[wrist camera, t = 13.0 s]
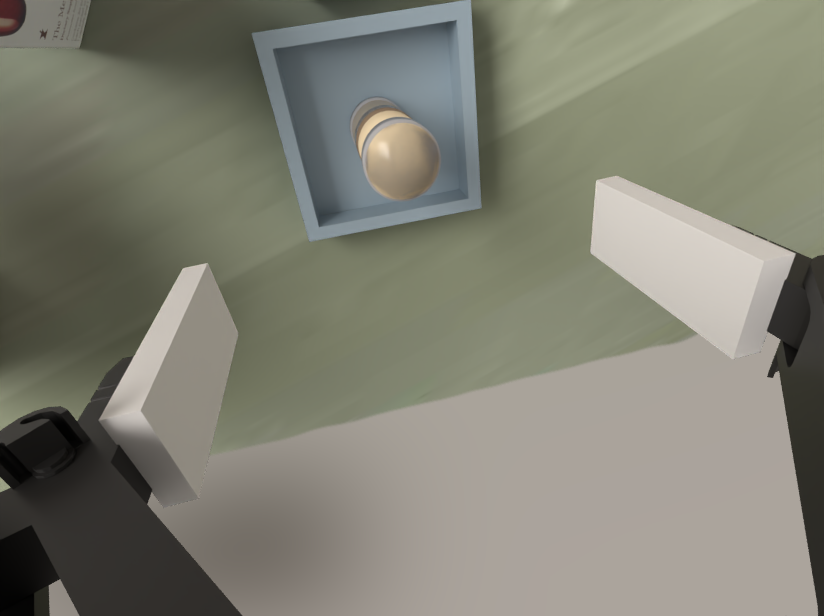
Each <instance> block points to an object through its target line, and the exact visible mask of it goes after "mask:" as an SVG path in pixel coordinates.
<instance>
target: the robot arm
mask: <svg viewBox="0 0 824 616" xmlns="http://www.w3.org/2000/svg"><path fill="white" fill-rule="evenodd" d="M590 253H591V254H593V255H594V256H595V257H597V258H598V259H599V260H601V261H602V262H603V263H605V264H606V265H607V266H609V267H610V268H611V269H613V270H614V271H615V272H617V273H618V274H619V275H621V276H622V277H623V278H625V279H626V280H627V281H629V282H630V283H631V284H633V285H634V286H635V287H637V288H638V289H639V290H641V291H642V292H643V293H645V294H646V295H647V296H649V297H650V298H651V299H653V300H654V301H655V302H657V303H658V304H659V305H661V306H662V307H663V308H665V309H666V310H667V311H669V312H670V313H671V314H673V315H674V316H675V317H677V318H678V319H679V320H681V321H682V322H683V323H685V324H686V325H687V326H689V327H690V328H691V329H693V330H694V331H695V332H697V333H698V334H699V335H701V336H702V337H704V338H705V339H706V340H707V341H709V342H710V343H711V344H713V345H714V346H715V347H717V348H718V349H719V350H721V351H722V352H723V353H725V354H726V355H728V356H729V357H730V358H732V359H736V358H741V357H744V356H748V355H752V354H756V353H760V352H761V349H762V347H763V343H764V341H765V338H766V335H767V333H768V332H769V333H771V334H773V335H774V336H776V337H777V338H779V339H781V341H780V343H779V346H778V349H777V351H776V354H775V356H774V359H773V362H772V365H771V367H770V370H769V373H768V376H767V377H771V378H773V376H774V374H775V372H777V371H779V373H780V379H781V385H782V391H783V397H784V403H785V410H786V416H787V422H788V428H789V434H790V440H791V446H792V452H793V458H794V464H795V470H796V476H797V482H798V489H799V495H800V501H801V506H802V513H803V519H804V525H805V531H806V537H807V543H808V549H809V555H810V562H811V568H812V574H813V579H814V586H815V592H816V598H817V605H818V616H824V255H821V256H817V257H815V258H813V259H811V258H809V257H806V256H804V255H802V254H799V253H797V252H795V251H793V250H790V249H788V248H786V247H783V246H781V245H779V244H776V243H774V242H772V241H767V239H765V238H762V237H760V236H758V235H755V236H754V234H753V233H751V232H748V231H746V230H744V229H742V228H739V227H737V226H732V225H729V224H727V223H724V222H722V221H720V220H717V219H715V218H713V217H710V216H708V215H706V214H704V213H701V212H699V211H697V210H694V209H692V208H690V207H687V206H685V205H683V204H681V203H678V202H676V201H674V200H671V199H669V198H667V197H664V196H662V195H660V194H658V193H655V192H653V191H651V190H648V189H646V188H644V187H641V186H639V185H637V184H635V183H632V182H630V181H628V180H625V179H623V178H621V177H618V176H614V177H609V178H605V179H600V180H596V190H595V202H594V215H593V227H592V239H591V252H590ZM237 338H238V331H237V329H236V326H235V324H234V322H233V319H232V317H231V315H230V313H229V310H228V308H227V306H226V303H225V301H224V299H223V297H222V294H221V292H220V290H219V288H218V285H217V283H216V281H215V278H214V276H213V274H212V272H211V269H210V267H209V265H208V263H205V264H200V265H196V266H191V267H186V268H183V269H182V271H181V273H180V274H179V276H178V278H177V280H176V282H175V283H174V285H173V287H172V289H171V291H170V292H169V294H168V296H167V298H166V300H165V302H164V303H163V305H162V307H161V309H160V311H159V312H158V314H157V316H156V318H155V320H154V321H153V323H152V325H151V327H150V329H149V330H148V332H147V334H146V336H145V338H144V339H143V341H142V343H141V345H140V347H139V348H138V350H137V352H136V354H135V356H132V357H127V358H123V359H122V360H121V361H120V362H118V363H117V364H116V365H115V366H114V367H113V368H112V369H111V370H110V371H109V372H107V374H106V375H105V377H104V379H103V380H102V382H101V383H100V385H99V387H98V390H97V391H96V392H95V393H94V395H93V397H92V398H91V402H90V403H88V405H87V406H86V408H85V410H84V411H83V413H82V415H81V416H80V418H79V420H78V421H76V420H75V418H74V417H73V416H72V415H71V413H70V412H69V411H68V410H67V409H65V408H63V407H61V406H60V407H47V408H44V409H40V410H37V411H34V412H32V413H30V414H27V415H25V416H23V417H21V418H19V419H17V420H16V421H14V422H13V423H11V424H10V425H8V426H6V427H5V428H3V429H2V430H1V431H0V477H1V478H2V479H3V480H4V481H5V482H6V483H7V484H8V485H9V486H10V487H11V488H9V489H7V490H5V491H3V492H0V616H50V615H49V585H50V584H52V583H54V582H55V581H57V580H59V579H61V581H62V583H63V585H64V587H65V589H66V591H67V593H68V595H69V597H70V598H71V600H72V602H73V604H74V606H75V608H76V610H77V612H78V614H79V615H80V616H242V615H241V614H240V612H239V611H238V610H237V609H236V608H235V607H234V606H233V604H232V603H231V602H230V601H229V600H228V598H227V597H226V596H225V595H224V594H223V593H222V591H221V590H220V589H219V588H218V587H217V586H216V584H215V583H214V582H213V581H212V580H211V579H210V578H209V576H208V575H207V574H206V573H205V572H204V570H203V569H202V568H201V567H200V566H199V565H198V563H197V562H196V561H195V560H194V559H193V558H192V557H191V555H190V554H189V553H188V552H187V551H186V550H185V548H184V547H183V546H182V545H181V544H180V543H179V542H178V540H177V539H176V538H175V537H174V536H173V534H172V533H171V532H170V531H169V530H168V529H167V527H166V526H165V525H164V524H163V523H162V522H161V521H160V519H159V518H158V517H157V516H156V515H155V514H154V512H153V511H152V510H151V509H150V508H149V506H148V505H147V503H148V500H149V498H150V495H151V492H152V493H153V494H154V496H155V497H156V498H157V499H158V501H159V502H160V503H161V505H162V506H163V507H168V506H172V505H176V504H180V503H184V502H188V501H191V500H195V499H199V496H200V492H201V488H202V483H203V479H204V475H205V471H206V467H207V462H208V458H209V454H210V450H211V446H212V442H213V438H214V433H215V429H216V425H217V421H218V417H219V413H220V408H221V404H222V400H223V396H224V392H225V388H226V383H227V379H228V375H229V371H230V367H231V363H232V358H233V354H234V350H235V346H236V342H237Z"/></svg>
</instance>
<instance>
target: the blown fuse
mask: <svg viewBox="0 0 824 616" xmlns="http://www.w3.org/2000/svg"><path fill="white" fill-rule="evenodd" d="M350 133H351V137H352V139H353V142H354V144H355V146H356V148H357V151H358V154H359V156H360V159H361V161H362V166H363V170H364V172H365V175H366V178H367V180H368V182H369V184H370V185H371V187H372V188H373V189H374V190H375V191H376V192H377V193H378V194H380V195H381V196H383V197H384V198H387V199H389V200H393V201H409V200H413V199H416V198H418V197H420V196H422V195H423V194H424V193H426V192H427V191H428V190H429V189H430V188H431V187H432V185H433V184H434V182H435V181H436V179H437V177H438V174H439V171H440V166H441V154H440V149H439V146H438V143H437V141H436V139H435V138H434V136H433V135H432V134H431V133H430V132H429V131H428V130H427V129H426V128H425V127H424V126H422V125H421V124H420V123H418V122H417V121H415V120H413V119H412V118H411V117H410V116H408V115H407V114H406V113H405V112H403V111H402V110H401V109H400V108H399V107H398V106H397V105H396V104H395V103H393V102H392V101H390V100H389V99H387V98H384V97H378V96H375V97H369V98H367V99H364V100H363V101H361V102H360V103H359V104H358V105H357V106H356V107H355V109H354V110H353V112H352V115H351V118H350Z"/></svg>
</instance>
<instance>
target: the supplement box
mask: <svg viewBox="0 0 824 616" xmlns="http://www.w3.org/2000/svg"><path fill="white" fill-rule="evenodd" d="M90 3H91V0H0V48H75V49H78V48H80V45H81V41H82V36H83V32H84V28H85V24H86V20H87V15H88V11H89V7H90Z"/></svg>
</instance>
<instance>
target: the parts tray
mask: <svg viewBox="0 0 824 616" xmlns="http://www.w3.org/2000/svg"><path fill="white" fill-rule="evenodd" d="M252 37H253V41H254V44H255V48H256V51H257V55H258V59H259V62H260V66H261V69H262V73H263V77H264V80H265V84H266V87H267V91H268V95H269V98H270V102H271V105H272V109H273V113H274V116H275V120H276V123H277V127H278V131H279V134H280V138H281V141H282V145H283V149H284V152H285V156H286V159H287V163H288V167H289V170H290V174H291V177H292V181H293V185H294V188H295V192H296V195H297V199H298V203H299V206H300V210H301V213H302V217H303V221H304V224H305V228H306V231H307V235H308V239H309V242H311V241H316V240H321V239H326V238H331V237H336V236H342V235H347V234H352V233H357V232H362V231H367V230H372V229H377V228H383V227H388V226H393V225H398V224H403V223H408V222H413V221H418V220H424V219H429V218H434V217H439V216H444V215H449V214H454V213H459V212H465V211H470V210H475V209H480V208H481V190H480V170H479V150H478V131H477V111H476V91H475V72H474V52H473V32H472V12H471V0H463V1H457V2H450V3H444V4H437V5H431V6H424V7H417V8H411V9H404V10H398V11H391V12H385V13H378V14H372V15H365V16H359V17H352V18H346V19H339V20H333V21H326V22H320V23H313V24H307V25H300V26H294V27H287V28H281V29H274V30H268V31H261V32H255V33H252ZM375 96H378V97H384V98H387V99H389V100H390V101H392V102H393V103H395V104H396V105H397V106H398V107H399V108H400V109H401V110H402V111H403V112H405V113H406V114H407V115H408V116H410V117H411V118H412V119H413V120H415V121H417V122H418V123H420V124H421V125H422V126H424V127H425V128H426V129H427V130H428V131H429V132H430V133H431V134H432V135H433V136H434V138H435V139H436V141H437V143H438V146H439V149H440V154H441V166H440V171H439V174H438V177H437V179H436V181H435V182H434V184H433V185H432V187H431V188H430V189H429V190H428V191H427V192H426V193H424V194H423V195H422V196H420V197H418V198H416V199H413V200H409V201H393V200H389V199H387V198H384V197H383V196H381V195H380V194H378V193H377V192H376V191H375V190H374V189H373V188H372V187H371V185H370V184H369V182H368V180H367V178H366V175H365V172H364V170H363V166H362V161H361V159H360V156H359V154H358V151H357V148H356V146H355V144H354V142H353V139H352V137H351V133H350V118H351V115H352V112H353V110H354V109H355V107H356V106H357V105H358V104H359V103H360V102H361V101H363V100H364V99H367V98H369V97H375Z"/></svg>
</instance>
